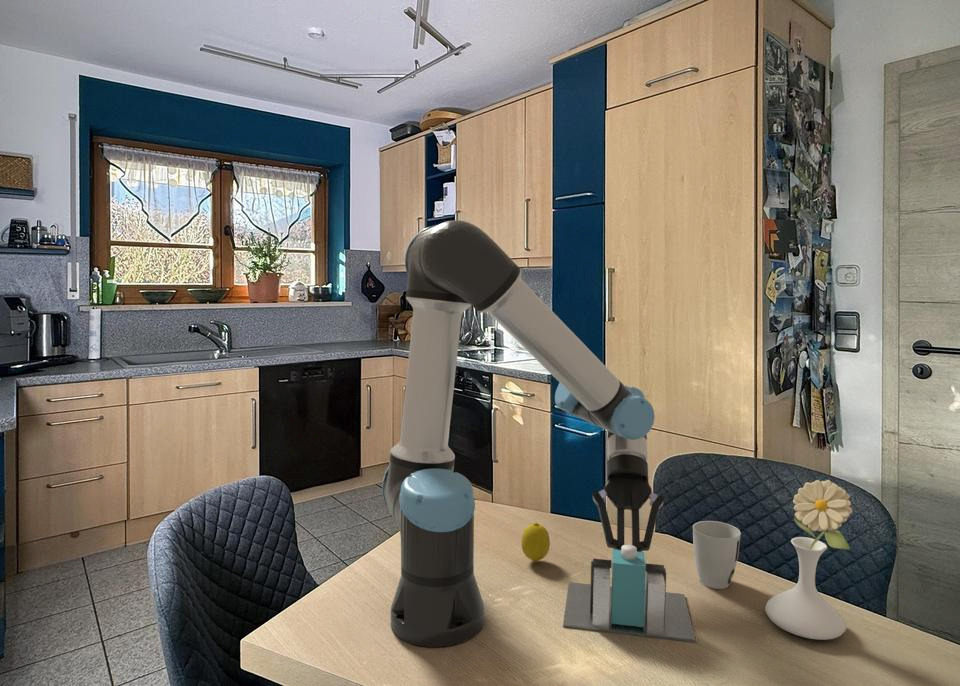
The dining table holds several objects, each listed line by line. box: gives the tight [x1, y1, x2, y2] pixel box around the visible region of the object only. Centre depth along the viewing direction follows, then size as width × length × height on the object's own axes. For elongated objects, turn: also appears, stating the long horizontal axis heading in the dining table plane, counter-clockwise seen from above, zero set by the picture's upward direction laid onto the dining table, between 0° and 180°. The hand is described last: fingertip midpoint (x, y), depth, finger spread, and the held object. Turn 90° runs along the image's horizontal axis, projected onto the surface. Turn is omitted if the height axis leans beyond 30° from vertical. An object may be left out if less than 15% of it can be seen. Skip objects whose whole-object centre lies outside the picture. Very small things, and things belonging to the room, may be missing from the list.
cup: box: [692, 520, 742, 590], centre depth 111 cm, size 8×8×10 cm
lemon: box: [520, 522, 551, 563], centre depth 119 cm, size 6×6×8 cm
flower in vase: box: [764, 479, 853, 641], centre depth 95 cm, size 13×11×25 cm
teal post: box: [611, 544, 647, 627], centre depth 98 cm, size 5×5×12 cm
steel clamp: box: [562, 558, 696, 643], centre depth 101 cm, size 20×14×9 cm
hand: (628, 589), depth 102 cm, fingers closed
